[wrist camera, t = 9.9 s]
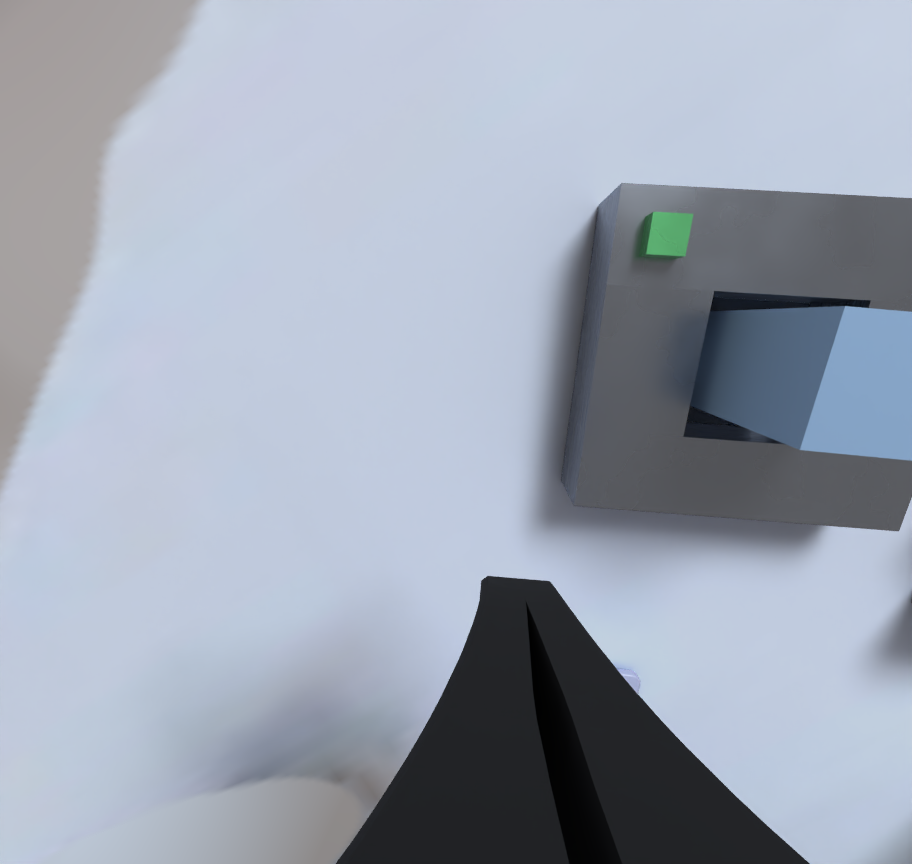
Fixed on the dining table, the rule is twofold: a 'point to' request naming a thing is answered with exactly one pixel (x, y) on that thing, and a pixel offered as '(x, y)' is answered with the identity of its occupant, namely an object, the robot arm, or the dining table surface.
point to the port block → (681, 339)
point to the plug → (812, 377)
